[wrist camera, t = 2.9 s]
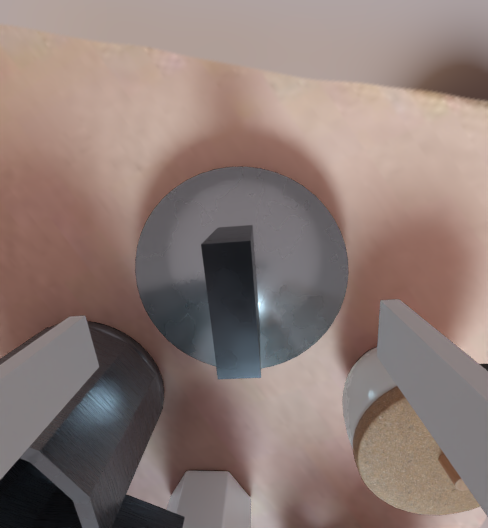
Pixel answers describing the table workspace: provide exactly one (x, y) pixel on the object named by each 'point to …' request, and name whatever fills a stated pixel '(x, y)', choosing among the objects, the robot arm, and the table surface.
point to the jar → (211, 501)
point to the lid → (241, 269)
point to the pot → (92, 447)
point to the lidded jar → (397, 446)
